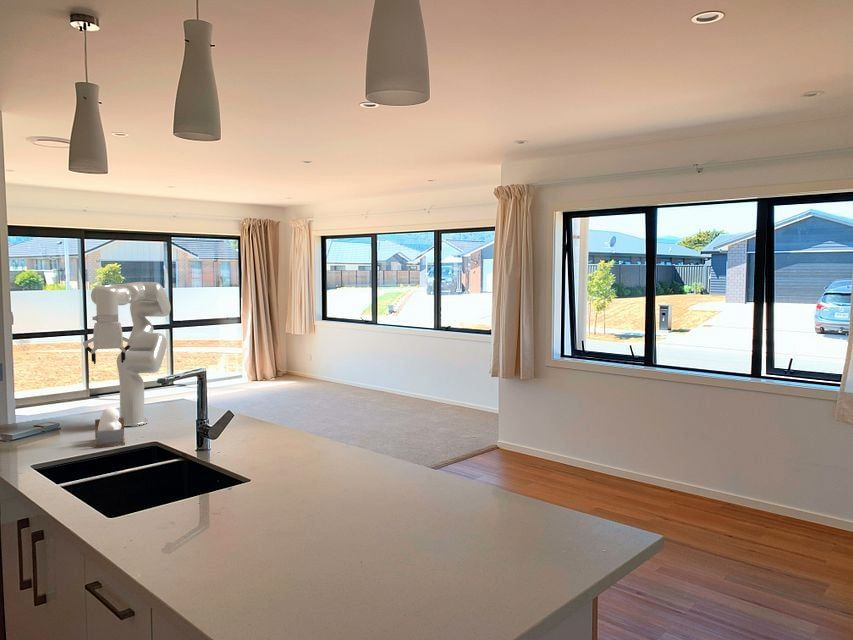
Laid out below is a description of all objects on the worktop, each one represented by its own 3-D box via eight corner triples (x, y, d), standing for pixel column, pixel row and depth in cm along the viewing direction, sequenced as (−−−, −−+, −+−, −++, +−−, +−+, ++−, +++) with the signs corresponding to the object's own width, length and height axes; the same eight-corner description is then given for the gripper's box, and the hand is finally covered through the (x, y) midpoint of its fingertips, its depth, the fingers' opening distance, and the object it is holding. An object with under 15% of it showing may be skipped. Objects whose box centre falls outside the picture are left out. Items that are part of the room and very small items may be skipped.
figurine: (114, 440, 235) (113, 408, 235) (94, 440, 235) (93, 409, 235) (123, 437, 242) (122, 406, 242) (104, 437, 242) (103, 406, 242)
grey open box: (95, 439, 242) (95, 419, 241) (123, 436, 246) (123, 417, 246) (95, 448, 230) (94, 426, 230) (125, 445, 235) (124, 424, 234)
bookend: (96, 442, 234) (96, 429, 234) (123, 440, 238) (123, 427, 238) (96, 445, 230) (96, 432, 230) (123, 442, 235) (123, 429, 234)
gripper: (82, 320, 234) (83, 365, 235) (132, 319, 242) (133, 363, 243) (82, 319, 240) (83, 362, 242) (131, 318, 248) (132, 360, 250)
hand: (108, 362), depth 242 cm, fingers open, 9 cm apart
